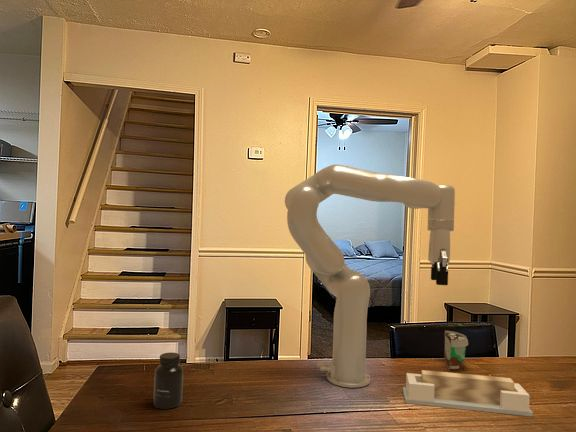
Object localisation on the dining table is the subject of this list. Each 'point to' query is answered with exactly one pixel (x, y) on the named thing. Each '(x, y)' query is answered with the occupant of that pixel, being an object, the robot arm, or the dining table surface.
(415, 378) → the frame
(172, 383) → the supplement bottle
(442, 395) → the slat
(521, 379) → the dining table surface
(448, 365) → the food container
